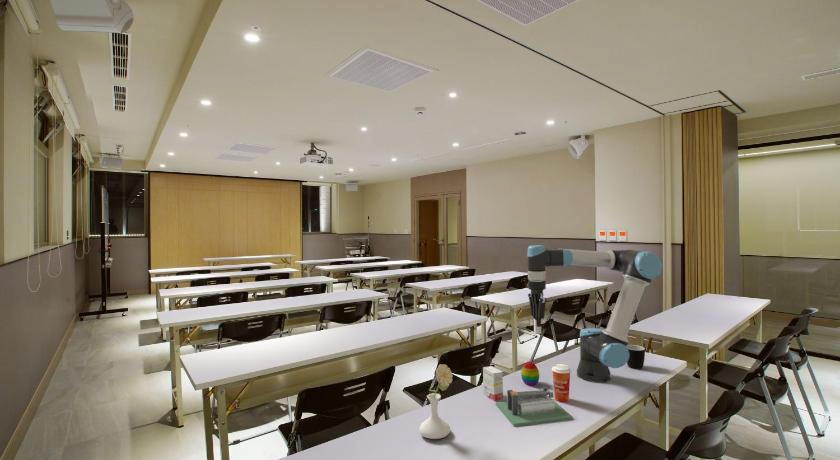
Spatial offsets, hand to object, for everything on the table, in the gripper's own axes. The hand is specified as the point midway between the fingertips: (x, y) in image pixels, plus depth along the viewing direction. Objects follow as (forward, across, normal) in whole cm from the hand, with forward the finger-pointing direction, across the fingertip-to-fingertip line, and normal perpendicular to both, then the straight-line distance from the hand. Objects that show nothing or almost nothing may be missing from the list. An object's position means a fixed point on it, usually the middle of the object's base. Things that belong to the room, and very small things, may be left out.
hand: (537, 333), depth 176 cm
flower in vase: (+27, +23, -52) cm, 63 cm away
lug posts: (+26, +16, -20) cm, 37 cm away
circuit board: (+26, +16, -11) cm, 33 cm away
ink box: (+27, -1, -21) cm, 34 cm away
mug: (+27, -17, +61) cm, 69 cm away
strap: (+20, +16, -12) cm, 28 cm away
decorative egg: (+27, -10, +1) cm, 28 cm away
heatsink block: (+25, +16, -11) cm, 32 cm away
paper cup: (+27, +9, +6) cm, 29 cm away
